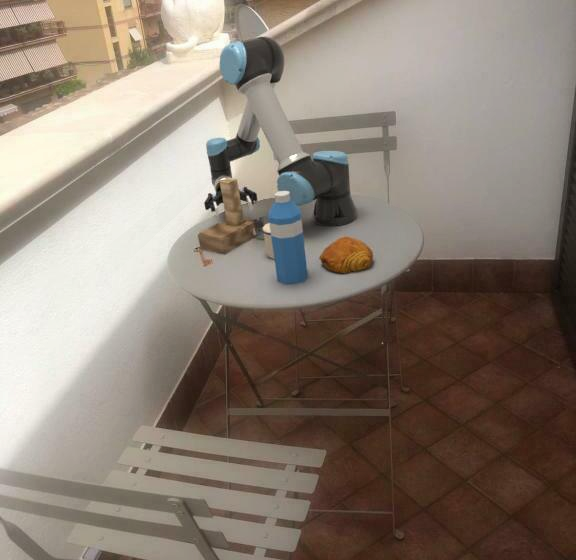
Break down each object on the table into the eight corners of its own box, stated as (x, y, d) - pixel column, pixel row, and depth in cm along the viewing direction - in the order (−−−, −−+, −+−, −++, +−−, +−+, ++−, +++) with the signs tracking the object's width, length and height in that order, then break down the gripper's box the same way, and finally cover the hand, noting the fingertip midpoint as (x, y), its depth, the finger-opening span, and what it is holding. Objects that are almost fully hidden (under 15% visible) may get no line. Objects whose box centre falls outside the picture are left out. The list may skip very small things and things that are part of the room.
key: (217, 265, 178) (210, 247, 191) (217, 263, 178) (210, 244, 191) (199, 268, 177) (193, 249, 190) (198, 265, 176) (193, 247, 189)
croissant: (355, 254, 177) (352, 229, 174) (382, 266, 163) (379, 239, 161) (313, 266, 173) (309, 241, 170) (336, 279, 159) (333, 252, 156)
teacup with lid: (297, 257, 175) (292, 221, 170) (267, 261, 175) (262, 226, 169) (291, 241, 186) (287, 208, 180) (263, 246, 185) (258, 212, 180)
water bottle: (284, 287, 159) (272, 202, 147) (271, 275, 166) (259, 192, 155) (314, 278, 161) (305, 193, 150) (300, 266, 169) (291, 185, 158)
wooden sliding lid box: (232, 230, 200) (230, 216, 198) (256, 235, 194) (254, 220, 191) (200, 248, 189) (197, 233, 187) (224, 254, 183) (221, 238, 181)
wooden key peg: (237, 233, 197) (227, 177, 188) (246, 235, 195) (236, 178, 186) (229, 238, 195) (219, 181, 185) (238, 240, 192) (228, 182, 183)
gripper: (258, 193, 209) (270, 213, 189) (196, 204, 205) (201, 226, 186) (255, 173, 205) (267, 191, 186) (191, 184, 202) (196, 204, 182)
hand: (234, 208), depth 186 cm, fingers open, 10 cm apart
